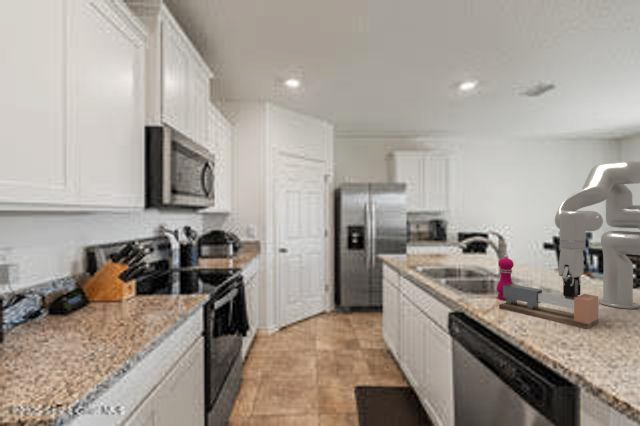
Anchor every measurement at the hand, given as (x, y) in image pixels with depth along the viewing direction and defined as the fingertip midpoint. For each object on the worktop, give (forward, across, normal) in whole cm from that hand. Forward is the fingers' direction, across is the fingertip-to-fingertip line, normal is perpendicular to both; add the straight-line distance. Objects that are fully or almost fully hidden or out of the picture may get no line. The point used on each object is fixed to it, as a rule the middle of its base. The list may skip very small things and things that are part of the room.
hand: (571, 295), depth 123 cm
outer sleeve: (+8, 0, -17) cm, 19 cm away
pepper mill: (+10, -12, -29) cm, 33 cm away
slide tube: (+5, 0, -4) cm, 6 cm away
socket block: (+8, 0, +4) cm, 9 cm away
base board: (+9, 0, -8) cm, 13 cm away
